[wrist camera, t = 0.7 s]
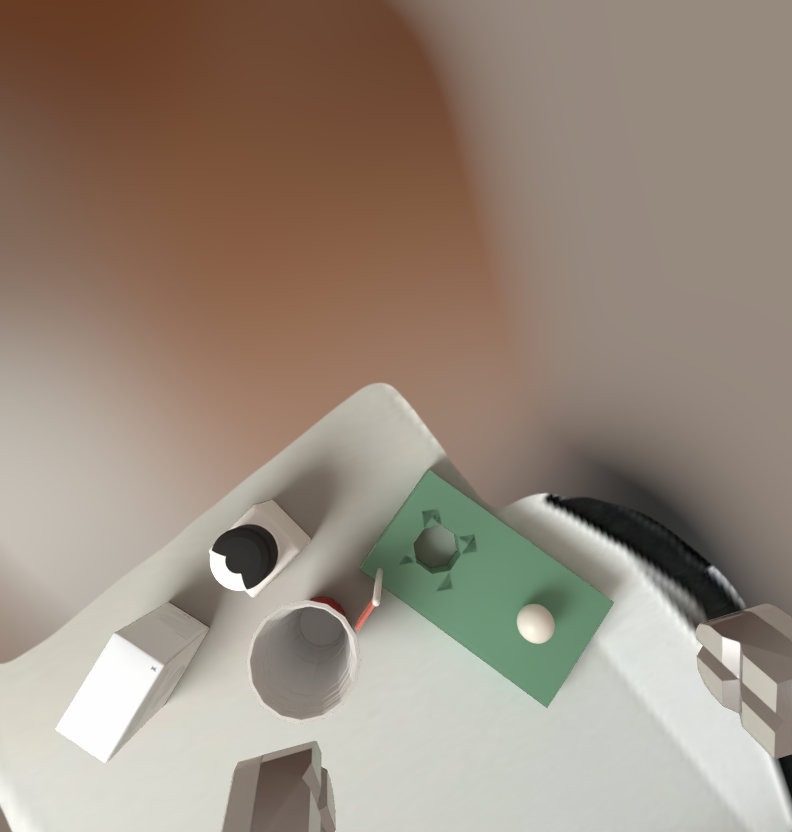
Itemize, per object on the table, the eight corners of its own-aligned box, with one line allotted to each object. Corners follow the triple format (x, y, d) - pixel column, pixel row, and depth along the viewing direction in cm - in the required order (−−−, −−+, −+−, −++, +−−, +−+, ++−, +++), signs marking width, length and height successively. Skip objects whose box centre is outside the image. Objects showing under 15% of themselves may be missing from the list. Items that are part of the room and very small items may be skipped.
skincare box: (165, 599, 54) (112, 631, 44) (211, 627, 54) (167, 665, 44) (117, 679, 53) (50, 731, 43) (163, 707, 53) (107, 767, 43)
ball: (554, 612, 52) (567, 625, 48) (534, 642, 51) (546, 657, 47) (525, 592, 52) (536, 602, 48) (505, 621, 51) (515, 634, 48)
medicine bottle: (272, 498, 56) (239, 507, 44) (312, 539, 55) (291, 559, 43) (230, 540, 55) (185, 561, 43) (270, 582, 55) (236, 615, 43)
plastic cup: (367, 572, 55) (361, 602, 43) (367, 666, 54) (360, 723, 42) (278, 572, 55) (246, 602, 43) (275, 666, 54) (242, 724, 42)
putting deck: (601, 594, 55) (680, 643, 40) (530, 707, 53) (583, 801, 38) (427, 469, 56) (440, 470, 41) (352, 576, 55) (338, 617, 40)
